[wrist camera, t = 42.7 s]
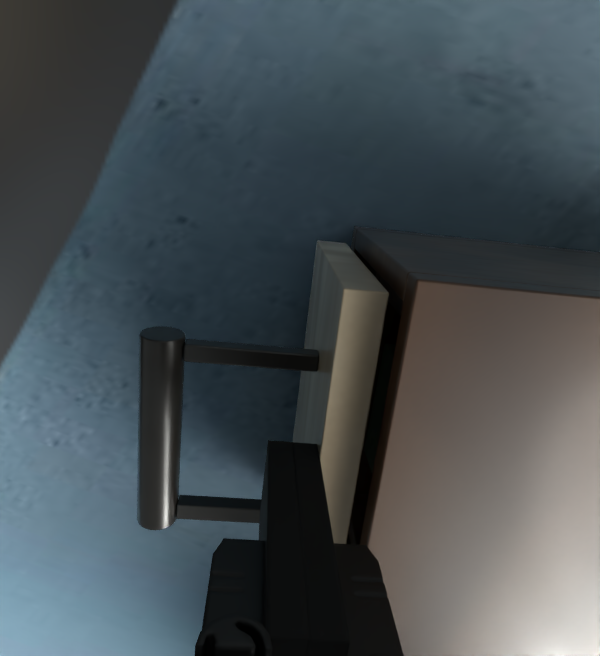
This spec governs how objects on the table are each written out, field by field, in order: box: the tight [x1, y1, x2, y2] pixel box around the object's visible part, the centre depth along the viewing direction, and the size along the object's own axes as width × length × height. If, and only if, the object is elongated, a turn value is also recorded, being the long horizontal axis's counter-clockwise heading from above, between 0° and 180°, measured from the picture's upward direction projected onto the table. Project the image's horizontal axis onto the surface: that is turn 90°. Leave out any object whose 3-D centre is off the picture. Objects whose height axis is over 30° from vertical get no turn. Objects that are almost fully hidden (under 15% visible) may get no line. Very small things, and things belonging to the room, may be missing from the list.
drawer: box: [137, 240, 403, 545], centre depth 19 cm, size 20×12×8 cm, turn 84°
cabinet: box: [346, 226, 600, 656], centre depth 19 cm, size 16×14×10 cm
